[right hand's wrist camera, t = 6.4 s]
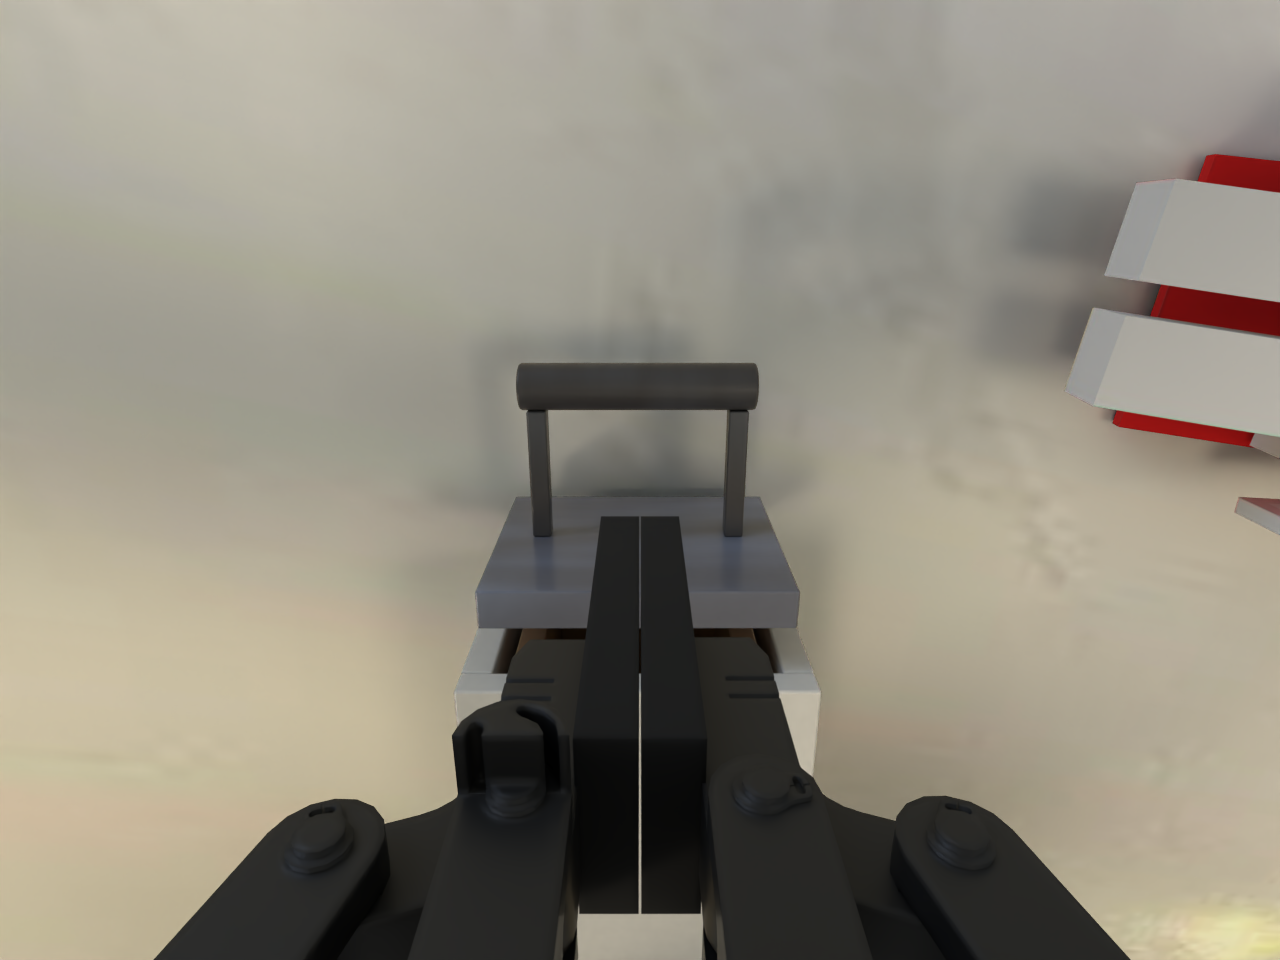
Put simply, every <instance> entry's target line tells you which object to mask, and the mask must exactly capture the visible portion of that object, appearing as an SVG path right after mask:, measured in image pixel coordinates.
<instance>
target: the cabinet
mask: <svg viewBox="0 0 1280 960" xmlns="http://www.w3.org/2000/svg"><path fill="white" fill-rule="evenodd" d="M522 630H523V628H478V630H477V633H476V636H475V638H474V641H473V643H472V646H471V649H470V651H469V654H468V656H467V659H466V662H465V664H464V667H463V669H462V672H461V675H460V678H459V681H458V683H457V686H456V688H455V691H454V700H455V709H456V719H457V727H458V725H459V724H460V722H461V721H462V720H463V719H465V718H466V717H468V716H469V715H470V714H472V713H473V712H474V711H476V710H477V709H479V708H482V707H485V706H487V705H490V704H493V703H495V702H499V701H501V694H502V691H503V687H504V684H505V683H506V677H507V673H508V670H509V666H510V663H511V660H512V657H513V656H514V655H515V654H516V651H517V648H518V644H519V641H520V637H521V633H522ZM753 632H754V635H755V639H756V643H757V645H758V646H759V647H760V648H761V649H762V650H763V651H764V652H765V653H766V654H767V655H768V657H769V660H770V664H771V667H772V671H773V674H774V681H776V684H777V688H778V691H779V698H781V702H782V705H783V709H784V712H785V716H786V719H787V722H788V726H789V729H790V733H791V736H792V740H793V743H794V747H795V750H796V754H797V757H798V761H799V764H800V766H801V768H802V769H803V770H805V771H806V772H807V773H808V774H809V775H811V776H812V777H813V772H814V762H815V752H816V742H817V732H818V722H819V712H820V702H821V690H820V687H819V685H818V682H817V679H816V677H815V674H814V671H813V669H812V666H811V663H810V661H809V658H808V655H807V653H806V650H805V648H804V645H803V642H802V640H801V637H800V634H799V632H798V629H797V628H753ZM577 939H578V960H702V939H703V916H702V905H701V914H641V674H639V914H579V909H578V920H577Z"/></svg>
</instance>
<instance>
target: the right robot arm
mask: <svg viewBox="0 0 1280 960" xmlns="http://www.w3.org/2000/svg"><path fill="white" fill-rule="evenodd" d="M452 741H453V751H454V760H455V769H456V779H457V788H458V796H457V798H455V799H454V800H453V801H451V802H449V803H447V804H446V805H444V806H442V807H440V808H438V809H436V810H433V811H430V812H427V813H424V814H421V815H418V816H414V817H410V818H406V819H402V820H398V821H394V822H390V823H387V824H384V819H383V818H382V817H381V815H380V814H379V813H378V811H377V810H376V809H375V808H374V806H371V805H369V804H366V803H364V802H361V801H359V800H355V799H332V800H328V801H324V802H320V803H316V804H312V805H309V806H307V807H305V808H303V809H301V810H299V811H297V812H295V813H293V814H291V815H289V816H287V817H286V818H285V819H284V820H283V821H281V822H280V823H279V824H278V825H277V826H276V827H274V828H273V829H272V830H271V831H270V832H268V833H267V834H266V836H265V837H264V838H263V839H262V840H261V841H260V842H259V843H258V844H257V846H256V847H255V848H254V849H253V850H252V851H251V852H250V853H249V854H248V856H247V857H246V858H245V859H244V860H243V861H242V862H241V863H240V864H239V866H238V867H237V868H236V869H235V870H234V871H233V872H232V873H231V874H230V876H229V877H228V878H227V879H226V880H225V881H224V882H223V883H222V884H221V886H220V887H219V888H218V889H217V890H216V891H215V892H214V893H213V894H212V896H211V897H210V898H209V899H208V900H207V901H206V902H205V903H204V904H203V906H202V907H201V908H200V909H199V910H198V911H197V912H196V913H195V914H194V916H193V917H192V918H191V919H190V920H189V921H188V922H187V923H186V924H185V926H184V927H183V928H182V929H181V930H180V931H179V932H178V933H177V934H176V936H175V937H174V938H173V939H172V940H171V941H170V942H169V943H168V944H167V946H166V947H165V948H164V949H163V950H162V951H161V952H160V953H159V954H158V956H157V957H156V958H155V959H154V960H578V939H577V920H578V909H579V914H639V516H601V520H600V528H599V536H598V544H597V552H596V560H595V567H594V575H593V583H592V591H591V599H590V606H589V614H588V622H587V630H586V638H585V640H529V641H528V642H527V643H526V644H525V645H524V646H523V647H522V648H521V649H520V650H519V651H518V652H517V653H516V654H515V655H514V656H513V657H512V660H511V663H510V666H509V670H508V673H507V677H506V683H505V684H504V687H503V691H502V694H501V701H499V702H495V703H493V704H490V705H487V706H485V707H482V708H479V709H477V710H476V711H474V712H473V713H472V714H470V715H469V716H468V717H466V718H465V719H463V720H462V721H461V722H460V724H459V725H458V727H457V729H456V730H455V732H454V733H453V735H452ZM701 905H702V916H703V939H702V960H1130V959H1129V958H1128V956H1127V955H1126V954H1125V953H1124V952H1123V951H1122V950H1121V949H1120V948H1119V946H1118V945H1117V944H1116V943H1115V942H1114V941H1113V940H1112V939H1111V938H1110V937H1109V935H1108V934H1107V933H1106V932H1105V931H1104V930H1103V929H1102V928H1101V927H1100V925H1099V924H1098V923H1097V922H1096V921H1095V920H1094V919H1093V918H1092V917H1091V916H1090V914H1089V913H1088V912H1087V911H1086V910H1085V909H1084V908H1083V907H1082V906H1081V905H1080V903H1079V902H1078V901H1077V900H1076V899H1075V898H1074V897H1073V896H1072V895H1071V893H1070V892H1069V891H1068V890H1067V889H1066V888H1065V887H1064V886H1063V885H1062V884H1061V882H1060V881H1059V880H1058V879H1057V878H1056V877H1055V876H1054V875H1053V874H1052V873H1051V871H1050V870H1049V869H1048V868H1047V867H1046V866H1045V865H1044V864H1043V863H1042V861H1041V860H1040V859H1039V858H1038V857H1037V856H1036V855H1035V854H1034V853H1033V852H1032V850H1031V849H1030V848H1029V847H1028V846H1027V845H1026V844H1025V843H1024V842H1023V841H1022V839H1021V838H1020V837H1019V836H1018V835H1017V834H1016V833H1015V832H1014V831H1013V830H1012V829H1011V828H1010V827H1009V826H1008V825H1006V824H1005V823H1004V822H1003V821H1002V820H1001V819H999V818H998V817H997V816H996V815H995V814H993V813H991V812H989V811H987V810H985V809H983V808H981V807H979V806H978V805H976V804H974V803H972V802H969V801H965V800H961V799H957V798H952V797H948V796H925V797H921V798H919V799H917V800H914V801H912V802H909V803H907V804H906V805H905V806H904V808H903V809H902V810H901V812H900V813H899V814H898V815H897V818H896V821H893V820H889V819H885V818H881V817H878V816H874V815H870V814H866V813H862V812H859V811H856V810H853V809H850V808H847V807H844V806H842V805H840V804H838V803H836V802H834V801H832V800H831V799H829V798H827V797H826V796H825V795H823V794H822V792H821V791H820V789H819V787H818V785H817V784H816V782H815V780H814V778H813V777H812V776H811V775H809V774H808V773H807V772H806V771H805V770H803V769H802V768H801V766H800V764H799V761H798V757H797V754H796V750H795V747H794V743H793V740H792V736H791V733H790V729H789V726H788V722H787V719H786V716H785V712H784V709H783V705H782V702H781V698H779V691H778V688H777V684H776V681H774V674H773V671H772V667H771V664H770V660H769V657H768V655H767V654H766V653H765V652H764V651H763V650H762V649H761V648H760V647H759V646H758V645H757V644H756V643H755V642H754V641H753V640H752V639H751V638H750V637H694V630H693V622H692V614H691V606H690V599H689V591H688V583H687V575H686V567H685V559H684V552H683V544H682V536H681V528H680V520H679V516H641V914H701Z"/></svg>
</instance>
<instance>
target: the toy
mask: <svg viewBox="0 0 1280 960" xmlns="http://www.w3.org/2000/svg"><path fill="white" fill-rule="evenodd" d="M1104 276H1109V277H1116V278H1123V279H1129V280H1136V281H1142V282H1149V283H1156V284H1161V286H1160V289H1159V292H1158V295H1157V298H1156V301H1155V303H1154V306H1153V309H1152V312H1151V315H1150V316H1145V315H1139V314H1132V313H1126V312H1120V311H1113V310H1107V309H1100V308H1094V307H1093V309H1092V311H1091V314H1090V317H1089V320H1088V323H1087V326H1086V329H1085V332H1084V334H1083V337H1082V340H1081V343H1080V346H1079V349H1078V352H1077V354H1076V357H1075V360H1074V363H1073V366H1072V369H1071V372H1070V374H1069V377H1068V380H1067V383H1066V386H1065V389H1064V391H1065V392H1067V393H1069V394H1071V395H1073V396H1075V397H1076V398H1078V399H1080V400H1082V401H1084V402H1086V403H1088V404H1090V405H1091V406H1095V407H1101V408H1107V409H1113V410H1117V411H1116V414H1115V417H1114V420H1113V424H1115V425H1116V426H1118V427H1123V428H1130V429H1136V430H1143V431H1149V432H1156V433H1162V434H1169V435H1175V436H1181V437H1188V438H1194V439H1201V440H1207V441H1214V442H1220V443H1227V444H1233V445H1239V446H1246V447H1252V448H1257V449H1259V450H1261V451H1263V452H1266V453H1268V454H1270V455H1272V456H1275V457H1277V458H1279V459H1280V161H1273V160H1264V159H1255V158H1246V157H1237V156H1228V155H1219V154H1214V155H1208V156H1206V159H1205V161H1204V164H1203V167H1202V170H1201V173H1200V176H1199V179H1198V181H1190V180H1183V179H1166V180H1157V181H1147V182H1137V183H1136V186H1135V188H1134V191H1133V194H1132V197H1131V200H1130V203H1129V206H1128V208H1127V211H1126V214H1125V217H1124V220H1123V223H1122V226H1121V228H1120V231H1119V234H1118V237H1117V240H1116V243H1115V246H1114V249H1113V251H1112V254H1111V257H1110V260H1109V263H1108V266H1107V269H1106V271H1105V274H1104ZM1235 513H1237V514H1239V515H1241V516H1243V517H1245V518H1247V519H1249V520H1251V521H1253V522H1255V523H1257V524H1259V525H1261V526H1263V527H1265V528H1267V529H1269V530H1271V531H1273V532H1275V533H1276V534H1278V535H1280V499H1265V498H1246V497H1239V498H1238V502H1237V505H1236V508H1235Z"/></svg>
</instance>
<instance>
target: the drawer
mask: <svg viewBox="0 0 1280 960" xmlns="http://www.w3.org/2000/svg"><path fill="white" fill-rule="evenodd" d="M516 392H517V401H518V405H519V408H520V409H522V410H528V411H527V413H526V414H527V432H528V451H529V469H530V487H531V497H516V499H515V501H514V503H513V506H512V508H511V510H510V513H509V515H508V517H507V520H506V522H505V524H504V527H503V529H502V531H501V534H500V536H499V538H498V541H497V543H496V545H495V548H494V550H493V552H492V555H491V557H490V559H489V562H488V564H487V566H486V569H485V571H484V573H483V575H482V578H481V580H480V582H479V585H478V587H477V589H476V592H475V597H476V609H477V621H478V627H479V628H523V630H522V633H521V637H520V641H519V644H518V648H517V651H516V653H517V652H518V651H519V650H520V649H521V648H522V647H523V646H524V645H525V644H526V643H527V642H528V641H529V640H585V638H586V630H587V622H588V614H589V606H590V599H591V591H592V583H593V575H594V567H595V560H596V552H597V544H598V536H599V528H600V520H601V516H639V674H641V516H679V520H680V528H681V536H682V544H683V552H684V559H685V567H686V575H687V583H688V591H689V599H690V606H691V614H692V622H693V630H694V637H750V638H751V639H752V640H753V641H754V642H755V643H756V639H755V635H754V632H753V628H797V623H798V611H799V599H800V591H799V589H798V586H797V584H796V582H795V579H794V577H793V575H792V572H791V570H790V568H789V565H788V563H787V560H786V558H785V556H784V553H783V551H782V549H781V546H780V544H779V542H778V539H777V537H776V535H775V532H774V530H773V527H772V525H771V523H770V520H769V518H768V516H767V513H766V511H765V509H764V506H763V504H762V502H761V499H760V497H745V477H746V458H747V439H748V420H749V412H748V410H753V409H755V408H756V405H757V402H758V393H759V375H758V368H757V365H756V364H755V363H521V364H519V366H518V369H517V376H516ZM548 410H727V431H726V455H725V479H724V497H552V493H551V471H550V448H549V425H548ZM756 644H757V643H756Z"/></svg>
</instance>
